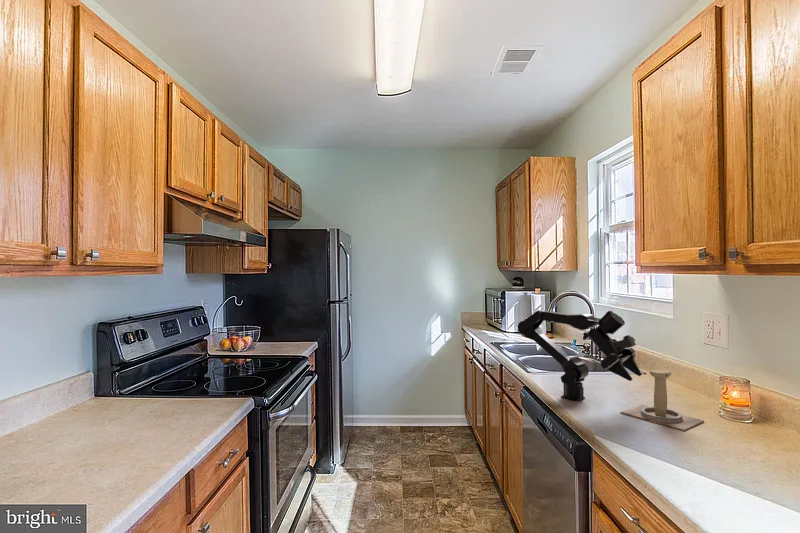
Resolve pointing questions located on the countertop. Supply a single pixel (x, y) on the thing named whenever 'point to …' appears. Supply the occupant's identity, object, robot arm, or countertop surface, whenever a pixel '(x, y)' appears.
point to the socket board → (670, 420)
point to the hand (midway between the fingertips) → (636, 377)
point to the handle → (660, 391)
